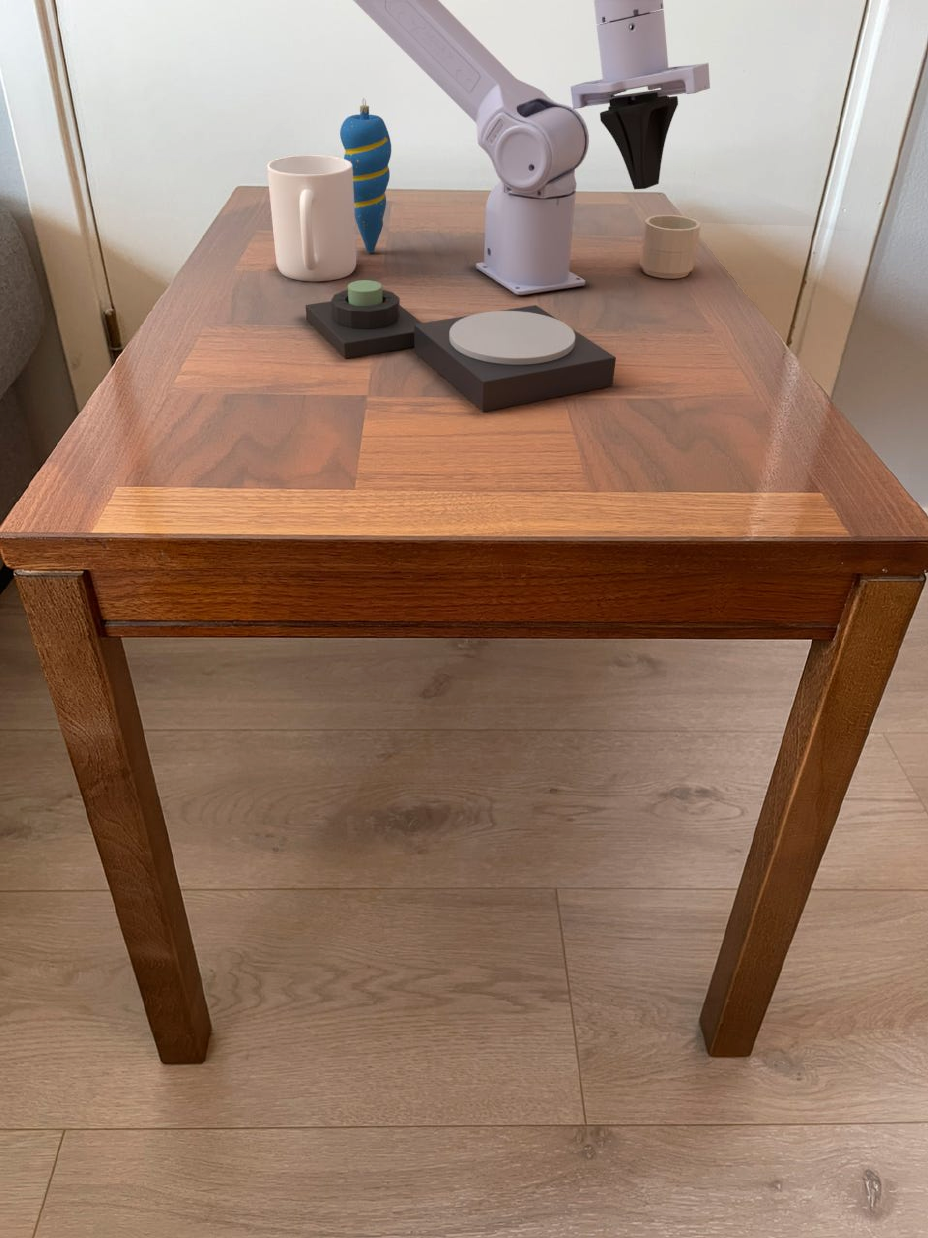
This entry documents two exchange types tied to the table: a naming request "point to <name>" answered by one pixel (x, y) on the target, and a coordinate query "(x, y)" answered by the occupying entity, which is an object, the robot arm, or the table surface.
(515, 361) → the scale
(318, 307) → the pad
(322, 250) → the cup
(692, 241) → the beige handleless cup
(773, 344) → the table surface
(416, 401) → the table surface
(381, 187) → the ornament
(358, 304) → the button
